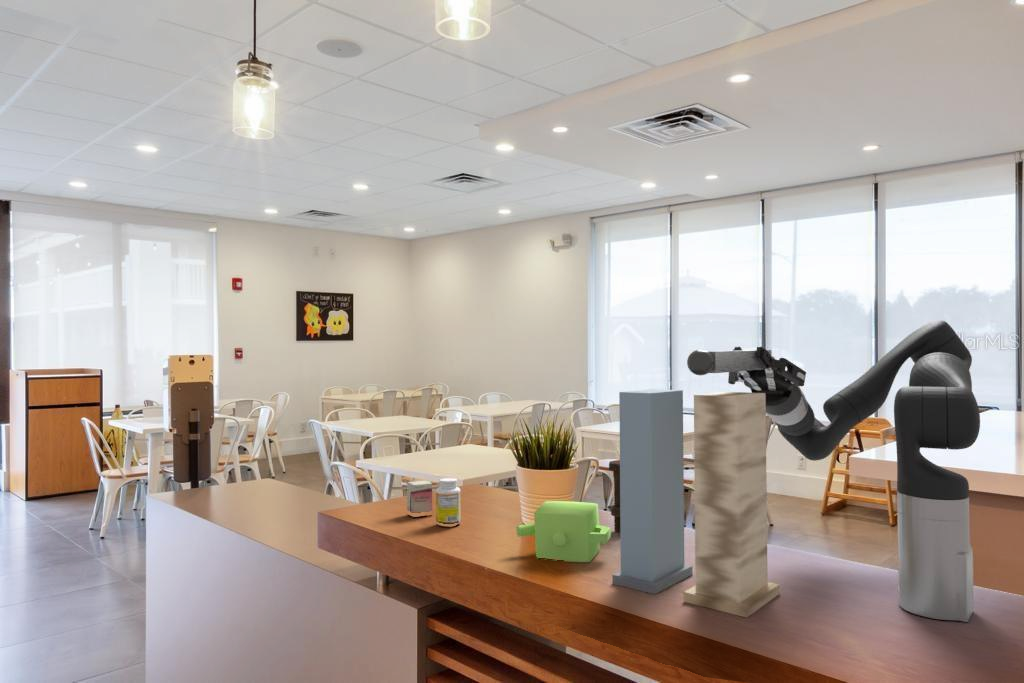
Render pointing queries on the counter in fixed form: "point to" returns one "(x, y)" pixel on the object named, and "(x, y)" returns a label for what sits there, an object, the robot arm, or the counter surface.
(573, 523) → the gearbox
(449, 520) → the supplement bottle
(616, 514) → the bolt
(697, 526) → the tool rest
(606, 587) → the counter surface
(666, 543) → the post
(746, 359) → the lever bar
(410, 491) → the small box
